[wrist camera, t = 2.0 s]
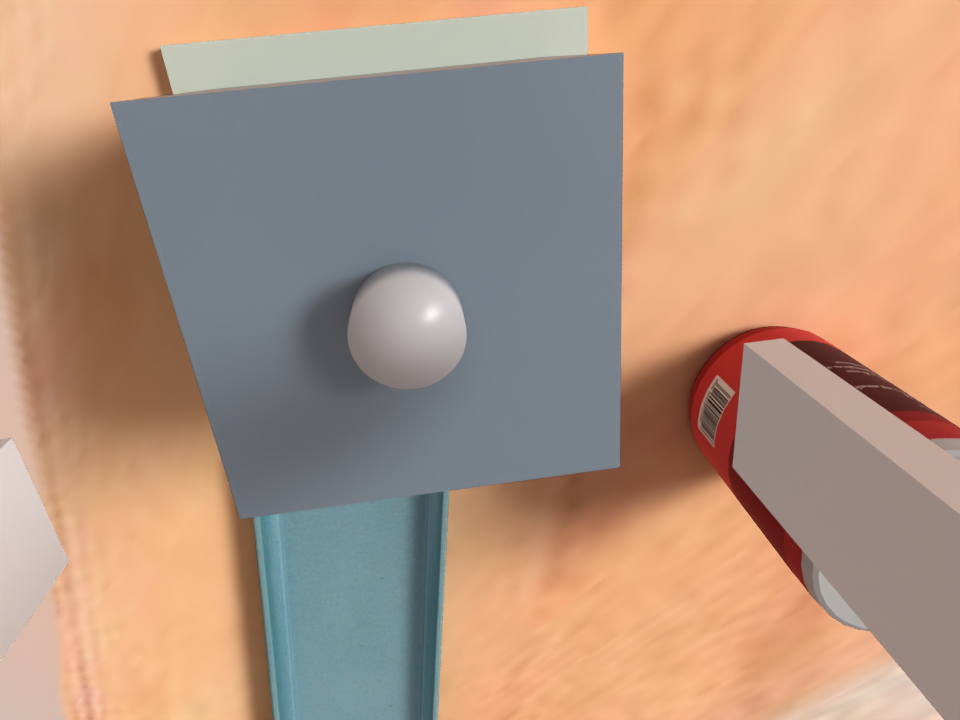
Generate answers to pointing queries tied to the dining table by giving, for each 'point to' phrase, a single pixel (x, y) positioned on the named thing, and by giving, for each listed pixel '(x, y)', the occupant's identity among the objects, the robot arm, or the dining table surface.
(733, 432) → the canned food
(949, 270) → the dining table surface
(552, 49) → the mat
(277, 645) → the shallow long dish
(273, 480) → the cover
